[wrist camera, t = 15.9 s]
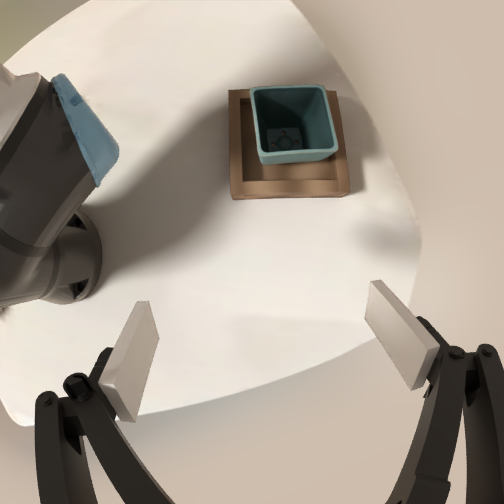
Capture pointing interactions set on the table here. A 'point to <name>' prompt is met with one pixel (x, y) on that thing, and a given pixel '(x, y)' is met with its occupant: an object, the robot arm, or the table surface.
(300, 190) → the wooden tray
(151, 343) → the robot arm
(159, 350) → the table surface
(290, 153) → the flower pot
